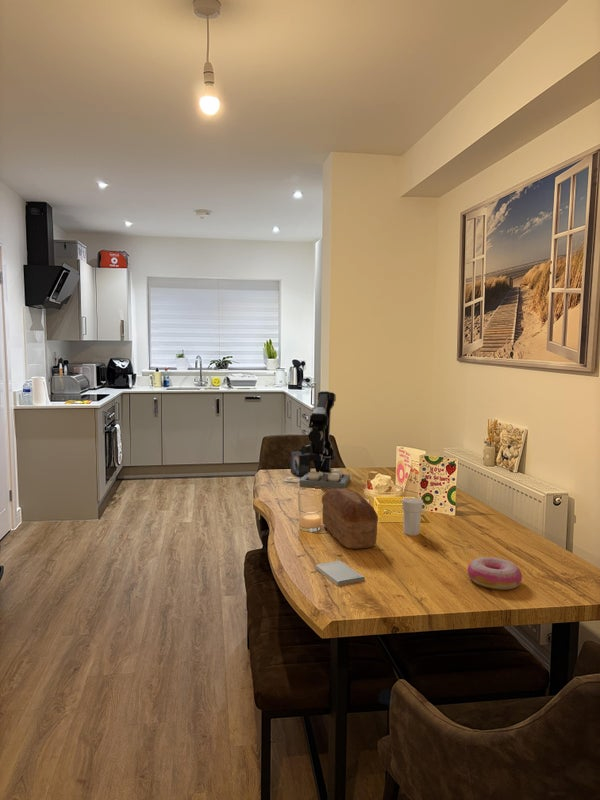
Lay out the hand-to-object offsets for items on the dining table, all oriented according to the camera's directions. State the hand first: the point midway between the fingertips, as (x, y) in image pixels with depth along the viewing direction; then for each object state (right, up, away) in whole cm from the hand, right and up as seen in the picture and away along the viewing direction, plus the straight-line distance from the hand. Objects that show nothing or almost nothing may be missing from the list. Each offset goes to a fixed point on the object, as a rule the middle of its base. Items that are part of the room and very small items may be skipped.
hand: (317, 472), depth 255 cm
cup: (+29, -10, -73) cm, 79 cm away
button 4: (+9, -2, -2) cm, 9 cm away
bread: (+7, -11, -78) cm, 79 cm away
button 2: (0, -3, 0) cm, 3 cm away
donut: (+43, -14, -111) cm, 120 cm away
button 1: (-2, -2, -9) cm, 9 cm away
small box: (-8, -2, +12) cm, 15 cm away
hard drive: (+2, -14, -108) cm, 109 cm away
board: (-1, -4, -4) cm, 6 cm away
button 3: (+7, -2, -11) cm, 13 cm away
